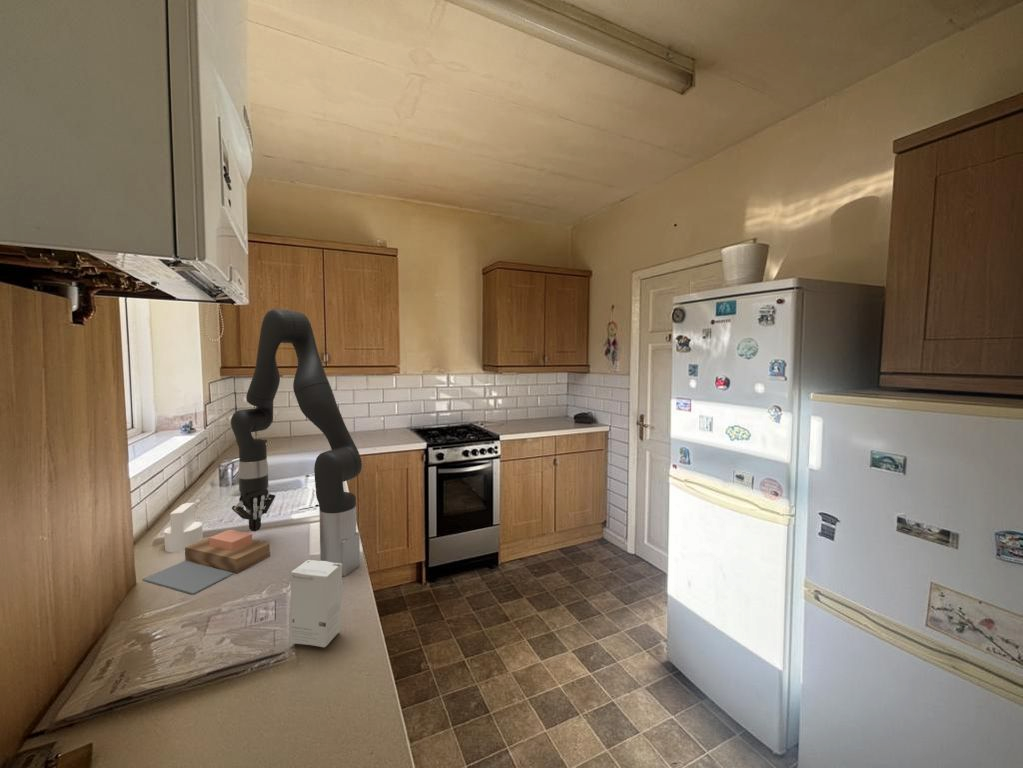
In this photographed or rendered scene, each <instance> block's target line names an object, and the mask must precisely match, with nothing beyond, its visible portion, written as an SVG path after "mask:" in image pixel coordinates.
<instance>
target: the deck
mask: <svg viewBox="0 0 1023 768" xmlns="http://www.w3.org/2000/svg"><path fill="white" fill-rule="evenodd" d="M209 538H210V537H208V538H205V539H203V540H202V541H200V542H197V543H195V544H192V545H190V546H187V547H185V551H184V558H185V559H184V561H187V562H191V563H195V564H199V565H203V566H207V567H211V568H215V569H219V570H223V571H227V572H231V573H233V574H236V575H237V574H239V573H241V572H244V571H245V570H247V569H249V568H251V567H253V566H255V565H256V564H259V563H261V562H262V561H264V560H266V559H269V558H270V557H271V549H270V548H271V546H270V545H271V544H270V543H269V542H265V541H260V540H256V539H252V542H251V543H249V544H247V545H244V546H242V547H240V548H238V549H236V550H233V551H230V550H226V549H221V548H217V547H212V546H209Z"/></svg>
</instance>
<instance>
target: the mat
mask: <svg viewBox="0 0 1023 768" xmlns="http://www.w3.org/2000/svg"><path fill="white" fill-rule="evenodd" d="M233 575H234V573H231V572H227V571H223V570H219V569H215V568H212V567H208V566H204V565H200V564H197V563H193V562H189V561H185V560H183V561H181V562H179V563H176V564H174V565H172V566H170V567H167V568H164V569H162V570H160V571H158V572H156V573H153V574H151V575H148V576H147V577H144V578H142V581H144V582H147V583H149V584H150V583H151V584H153V585H157V586H161V587H165V588H168V589H172V590H175V591H179V592H183V593H185V594H188V595H192V596H194V595H196V594H197V593H200V592H202V591H204V590H206V589H208V588H209V587H212V586H214V585H216V584H217V583H220V582H222V581H224V580H226V579H228V578H229V577H231V576H233Z"/></svg>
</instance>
